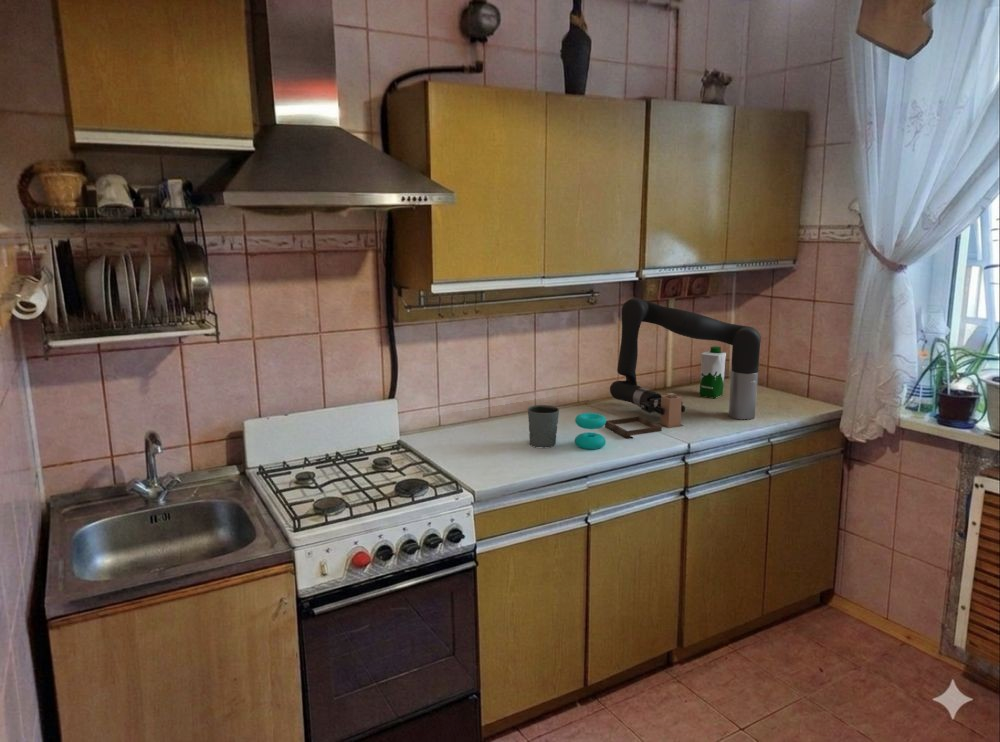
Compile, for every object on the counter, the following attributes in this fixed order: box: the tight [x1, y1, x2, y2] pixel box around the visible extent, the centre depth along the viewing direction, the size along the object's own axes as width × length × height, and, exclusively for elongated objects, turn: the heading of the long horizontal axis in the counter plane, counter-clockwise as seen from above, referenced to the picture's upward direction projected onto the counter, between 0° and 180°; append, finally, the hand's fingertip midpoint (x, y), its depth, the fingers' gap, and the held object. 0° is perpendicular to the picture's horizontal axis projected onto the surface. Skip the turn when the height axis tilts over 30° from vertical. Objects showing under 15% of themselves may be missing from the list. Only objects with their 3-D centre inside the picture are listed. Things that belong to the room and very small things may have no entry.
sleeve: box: [659, 394, 683, 427], centre depth 245 cm, size 5×5×10 cm
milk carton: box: [699, 346, 727, 399], centre depth 285 cm, size 9×9×20 cm
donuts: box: [574, 412, 607, 450], centre depth 226 cm, size 10×10×10 cm
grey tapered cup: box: [527, 404, 560, 448], centre depth 228 cm, size 10×10×12 cm
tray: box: [604, 416, 663, 440], centre depth 242 cm, size 14×14×2 cm
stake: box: [656, 392, 685, 429], centre depth 245 cm, size 7×7×12 cm
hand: (674, 410), depth 243 cm, fingers open, 8 cm apart
